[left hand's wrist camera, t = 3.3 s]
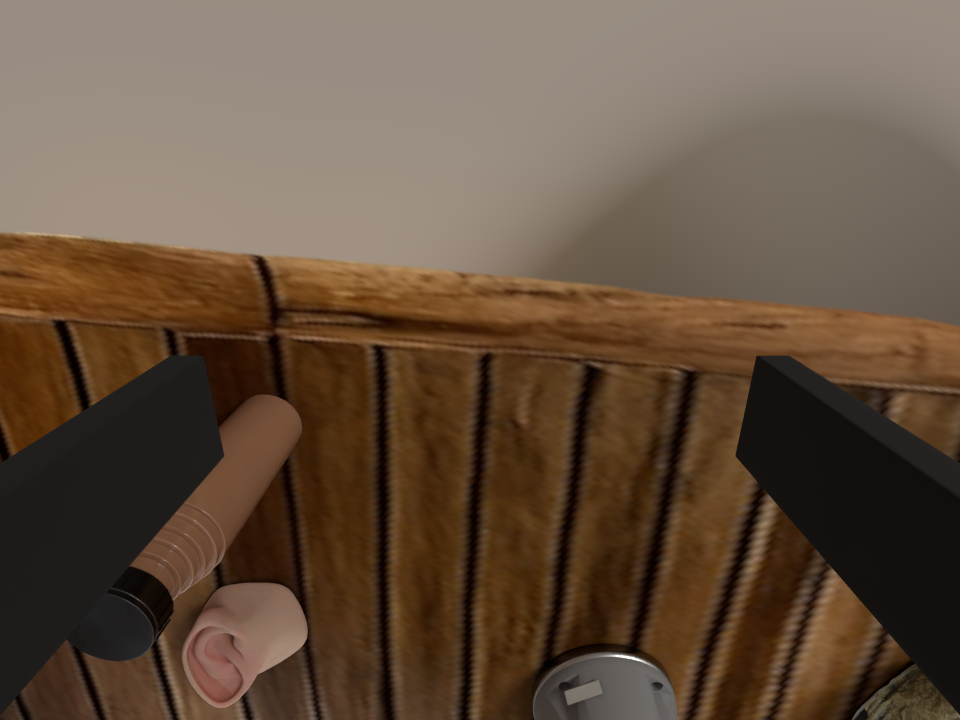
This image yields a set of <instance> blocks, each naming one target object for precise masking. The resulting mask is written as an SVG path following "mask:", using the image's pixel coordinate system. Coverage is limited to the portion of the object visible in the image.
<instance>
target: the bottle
mask: <svg viewBox="0 0 960 720" xmlns="http://www.w3.org/2000/svg"><path fill="white" fill-rule="evenodd" d="M219 432H220V437H221V442H222V446H223V451H224V457H223V458H222V460H221V461H220V462H219V463H218V464H217V465H216V467H215V468H214V469H213V470H212V471H211V472H210V473H209V475H208V476H207V477H206V478H205V479H204V480H203V482H202V483H201V484H200V485H199V486H198V487H197V488H196V490H195V491H194V492H193V493H192V494H191V495H190V497H189V498H188V499H187V500H186V501H185V502H184V504H183V505H182V506H181V507H180V508H179V509H178V510H177V512H176V513H175V514H174V515H173V516H172V517H171V519H170V520H169V521H168V522H167V523H166V524H165V525H164V527H163V528H162V529H161V530H160V531H159V532H158V534H157V535H156V536H155V537H154V538H153V539H152V541H151V542H150V543H149V544H148V545H147V546H146V547H145V549H144V550H143V551H142V552H141V553H140V554H139V556H138V557H137V558H136V559H135V560H134V561H133V562H132V564H131V565H130V566H132V567H135V568H138V569H141V570H143V571H146V572H148V573H150V574H151V575H153V576H155V577H156V578H157V579H158V580H160V581H161V582H162V583H163V584H164V585H165V586H166V588H167V589H168V590H169V592H170V594H171V597H172V600H174V599H175V598H176V597H177V596H178V595H179V594H181V593H183V592H184V591H186V590H187V589H188V588H189V587H191V586H193V585H194V584H196V583H197V582H198V581H199V580H200V579H202V578H203V577H205V576H206V575H208V574H209V573H210V572H211V571H212V569H213V568H214V567H215V566H216V565H218V564H219V562H220V561H221V560H222V558H223V557H224V555H225V554H226V552H227V550H228V549H229V547H230V546H231V544H232V543H233V541H234V540H235V538H236V537H237V535H238V534H239V532H240V530H241V529H242V527H243V526H244V524H245V523H246V521H247V520H248V518H249V517H250V515H251V513H252V512H253V510H254V509H255V507H256V506H257V504H258V503H259V501H260V500H261V498H262V496H263V495H264V493H265V492H266V490H267V489H268V487H269V486H270V484H271V483H272V481H273V479H274V478H275V476H276V475H277V473H278V472H279V470H280V469H281V467H282V466H283V464H284V463H285V461H286V459H287V458H288V456H289V455H290V453H291V452H292V450H293V449H294V447H295V446H296V444H297V442H298V441H299V439H300V437H301V434H302V423H301V419H300V416H299V415H298V413H297V411H296V410H295V409H294V408H293V407H292V406H291V405H290V404H289V403H288V402H286V401H285V400H283V399H281V398H279V397H276V396H272V395H256V396H252V397H250V398H248V399H246V400H245V401H244V402H243V403H242V404H241V405H240V406H239V407H238V408H237V409H236V410H235V411H234V412H233V413H232V414H231V415H230V416H229V417H228V418H227V419H226V420H225V421H224V422H223V423H222V424H221V425H220V426H219Z"/></svg>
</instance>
